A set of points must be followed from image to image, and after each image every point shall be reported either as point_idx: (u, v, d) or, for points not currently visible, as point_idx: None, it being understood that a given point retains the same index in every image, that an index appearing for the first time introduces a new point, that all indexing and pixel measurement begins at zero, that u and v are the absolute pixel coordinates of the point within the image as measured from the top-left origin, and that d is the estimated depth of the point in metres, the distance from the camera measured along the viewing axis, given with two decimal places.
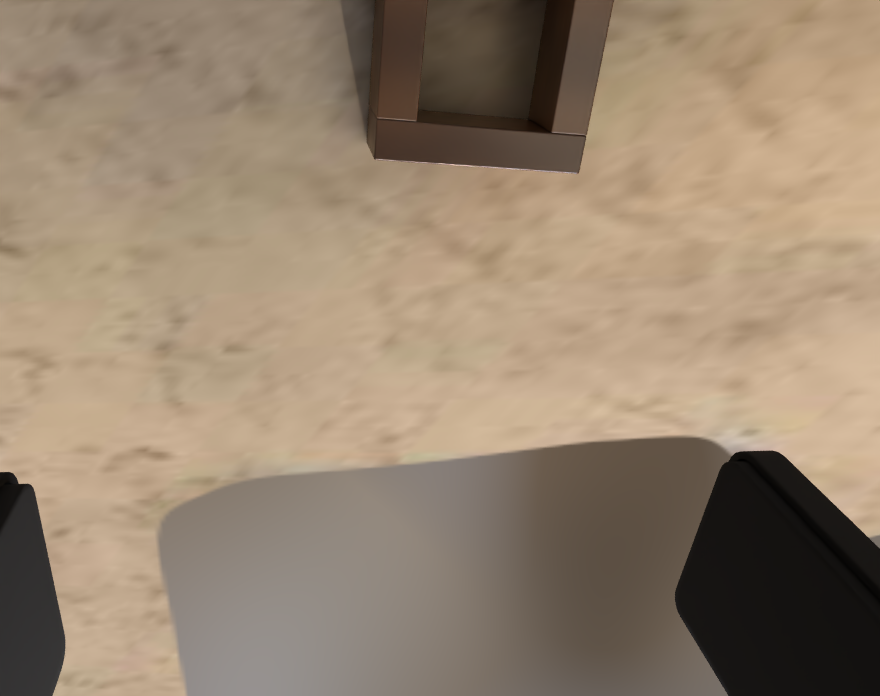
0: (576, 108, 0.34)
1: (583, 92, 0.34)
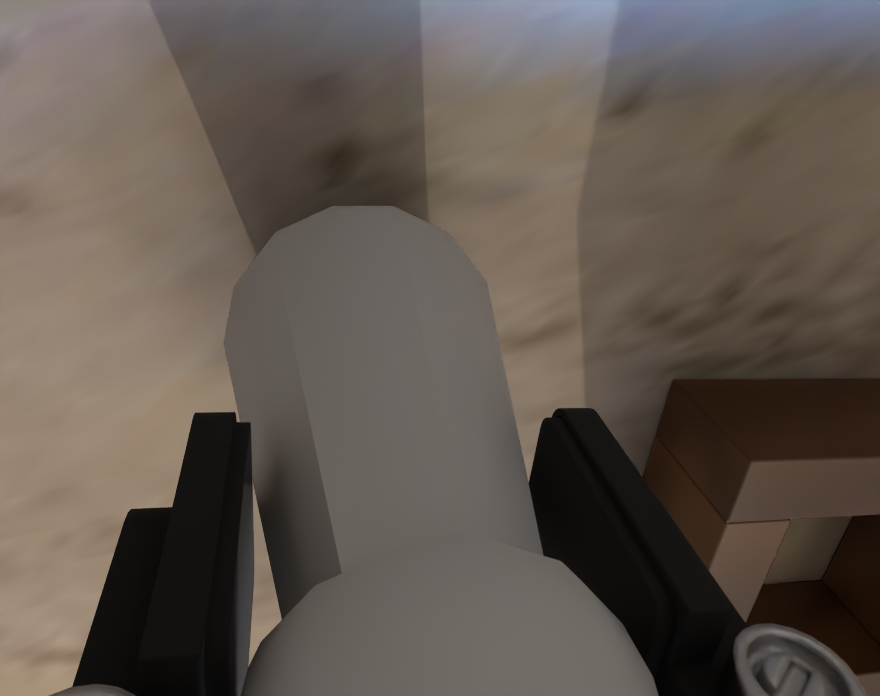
0: None
1: None
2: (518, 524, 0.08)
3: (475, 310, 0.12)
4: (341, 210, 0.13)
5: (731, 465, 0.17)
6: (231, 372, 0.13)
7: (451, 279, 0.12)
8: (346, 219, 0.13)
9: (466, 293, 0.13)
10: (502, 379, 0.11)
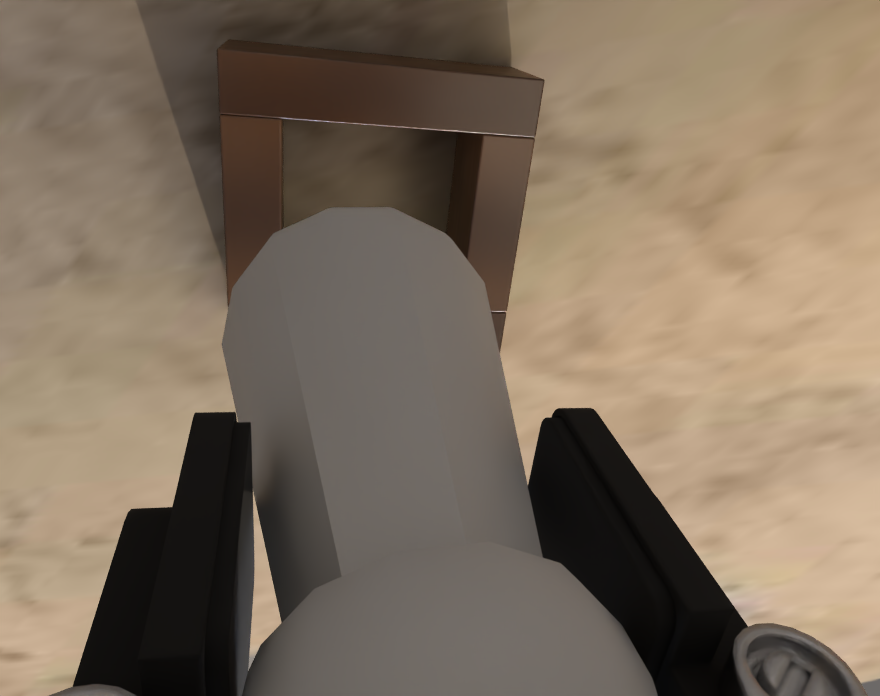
0: (490, 283, 0.27)
1: (499, 264, 0.27)
2: (517, 526, 0.08)
3: (473, 311, 0.12)
4: (339, 211, 0.13)
5: None
6: (229, 374, 0.13)
7: (450, 280, 0.12)
8: (345, 221, 0.13)
9: (464, 294, 0.13)
10: (501, 380, 0.11)
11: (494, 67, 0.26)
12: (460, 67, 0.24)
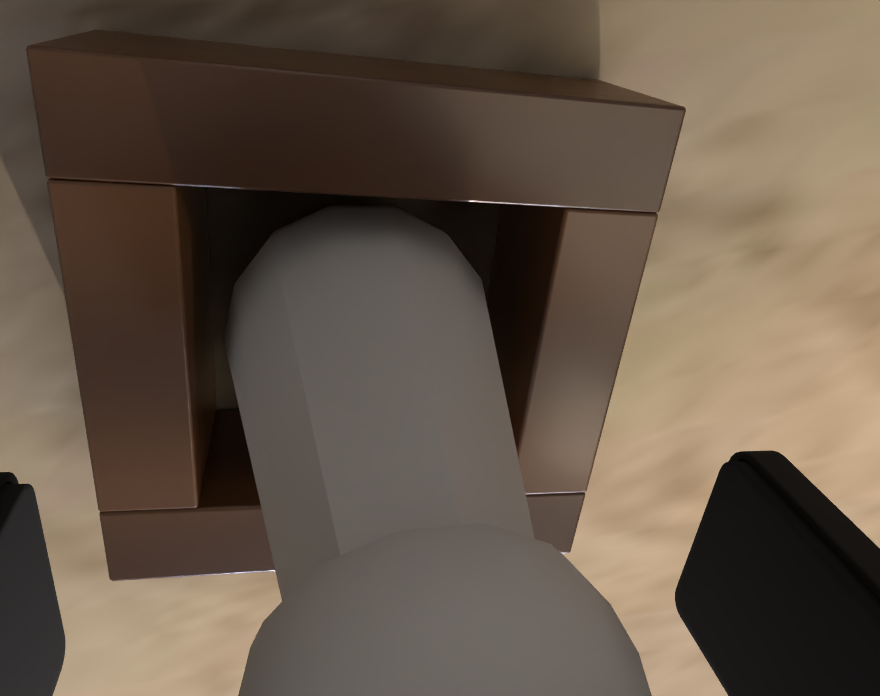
0: (562, 452, 0.16)
1: (579, 422, 0.15)
2: (511, 511, 0.09)
3: (470, 306, 0.13)
4: (339, 209, 0.14)
5: None
6: (231, 368, 0.13)
7: (447, 276, 0.13)
8: (344, 217, 0.13)
9: (461, 290, 0.13)
10: (496, 373, 0.12)
11: (575, 81, 0.15)
12: (522, 83, 0.13)
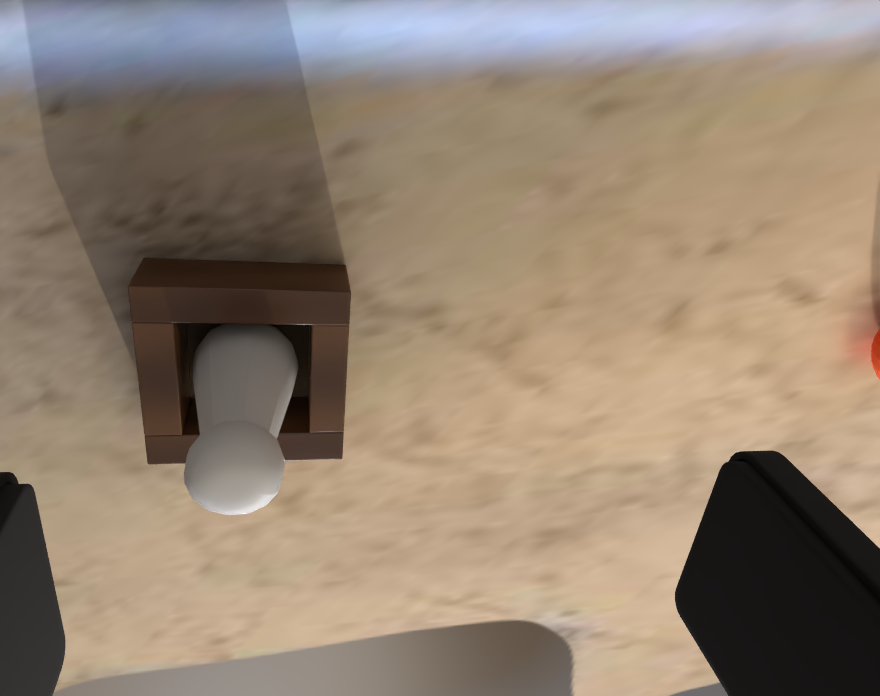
0: (329, 414, 0.39)
1: (333, 402, 0.39)
2: (263, 422, 0.32)
3: (277, 360, 0.36)
4: None
5: None
6: (193, 381, 0.37)
7: (269, 349, 0.36)
8: (234, 327, 0.37)
9: (274, 354, 0.36)
10: (280, 384, 0.35)
11: (328, 270, 0.38)
12: (298, 279, 0.37)
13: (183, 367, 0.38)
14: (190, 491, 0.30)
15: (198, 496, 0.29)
